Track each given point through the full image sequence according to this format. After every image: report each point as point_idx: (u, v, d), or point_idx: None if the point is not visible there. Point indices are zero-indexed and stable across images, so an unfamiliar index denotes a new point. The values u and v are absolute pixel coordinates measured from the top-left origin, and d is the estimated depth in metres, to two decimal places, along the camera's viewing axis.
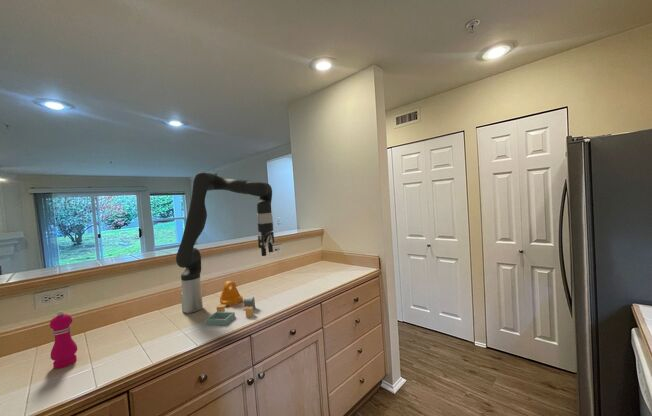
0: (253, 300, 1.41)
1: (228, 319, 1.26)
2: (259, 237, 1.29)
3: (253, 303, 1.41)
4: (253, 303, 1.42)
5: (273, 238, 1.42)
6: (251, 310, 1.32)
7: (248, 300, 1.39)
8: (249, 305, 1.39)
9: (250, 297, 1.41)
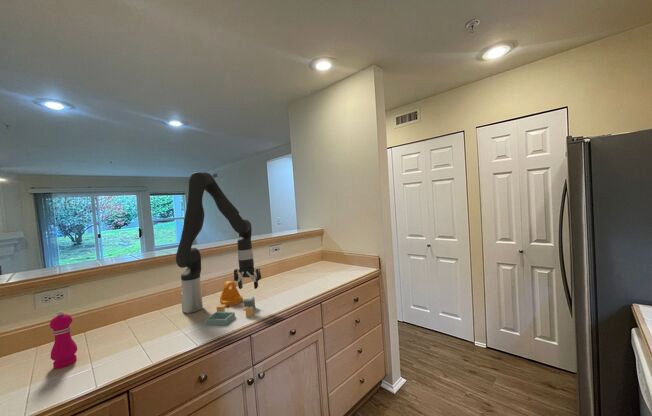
0: (253, 300, 1.41)
1: (228, 319, 1.26)
2: (258, 270, 1.38)
3: (253, 303, 1.41)
4: (253, 303, 1.42)
5: (237, 275, 1.43)
6: (251, 310, 1.32)
7: (248, 300, 1.39)
8: (249, 305, 1.39)
9: (250, 297, 1.41)
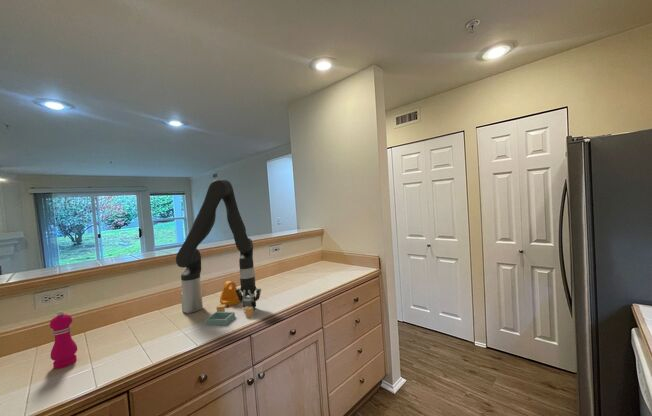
0: None
1: (228, 319, 1.26)
2: (259, 291, 1.39)
3: None
4: None
5: None
6: (251, 310, 1.32)
7: (248, 300, 1.39)
8: (249, 305, 1.39)
9: None
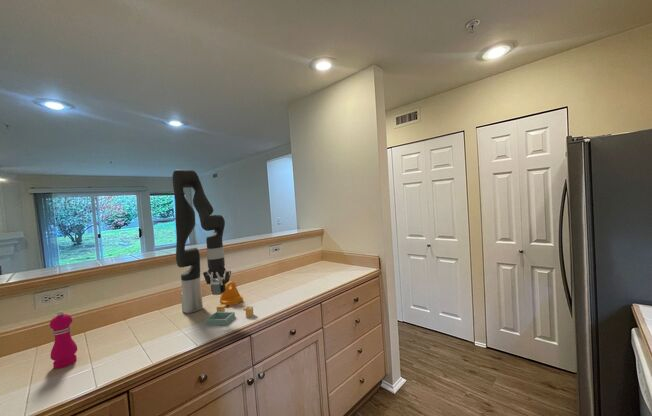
0: None
1: (228, 319, 1.26)
2: (228, 273, 1.27)
3: None
4: None
5: (209, 277, 1.30)
6: (251, 310, 1.32)
7: (216, 283, 1.26)
8: (217, 289, 1.26)
9: None
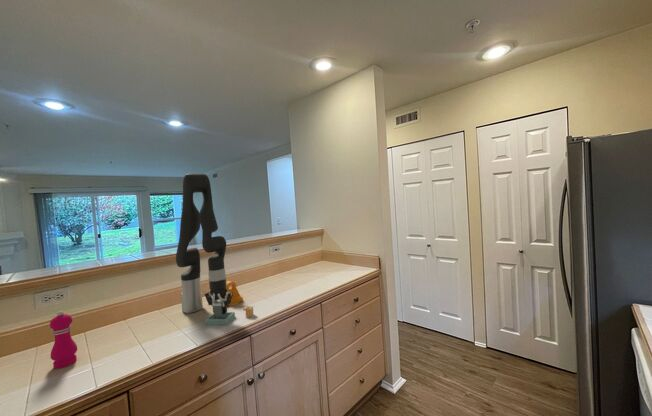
0: None
1: (228, 319, 1.26)
2: (230, 295, 1.27)
3: None
4: None
5: (211, 298, 1.31)
6: (251, 310, 1.32)
7: (218, 305, 1.26)
8: (219, 310, 1.26)
9: None
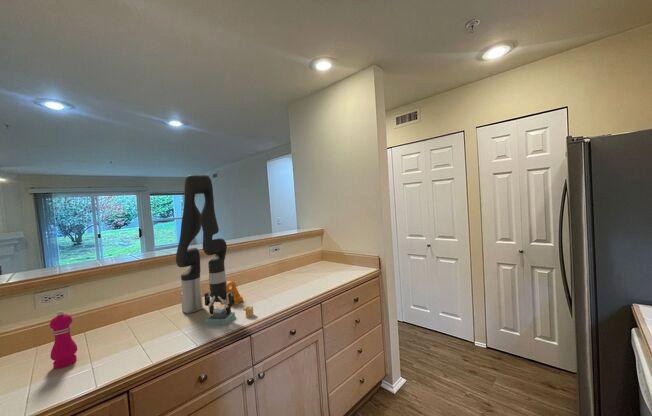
0: (224, 311, 1.29)
1: (228, 319, 1.26)
2: (231, 295, 1.27)
3: (224, 314, 1.29)
4: (225, 314, 1.29)
5: None
6: (251, 310, 1.32)
7: (218, 311, 1.27)
8: (219, 317, 1.27)
9: (221, 308, 1.29)
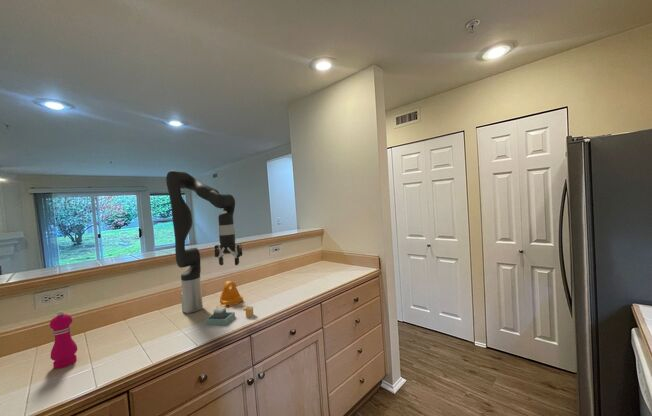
0: (224, 311, 1.29)
1: (228, 319, 1.26)
2: (239, 246, 1.35)
3: (224, 314, 1.29)
4: (225, 314, 1.29)
5: None
6: (251, 310, 1.32)
7: (218, 311, 1.27)
8: (219, 317, 1.27)
9: (221, 308, 1.29)
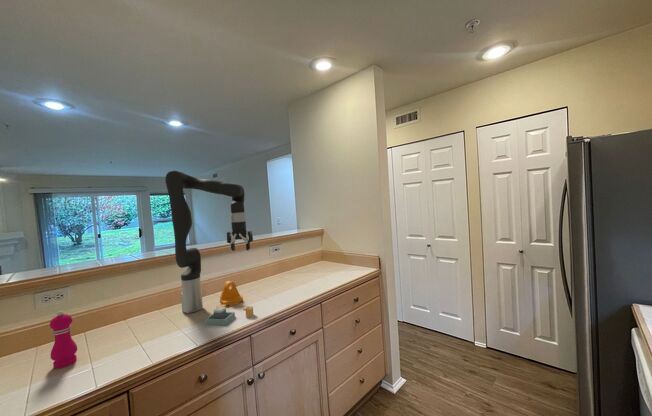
0: (224, 311, 1.29)
1: (228, 319, 1.26)
2: (250, 232, 1.45)
3: (224, 314, 1.29)
4: (225, 314, 1.29)
5: (230, 237, 1.49)
6: (251, 310, 1.32)
7: (218, 311, 1.27)
8: (219, 317, 1.27)
9: (221, 308, 1.29)
